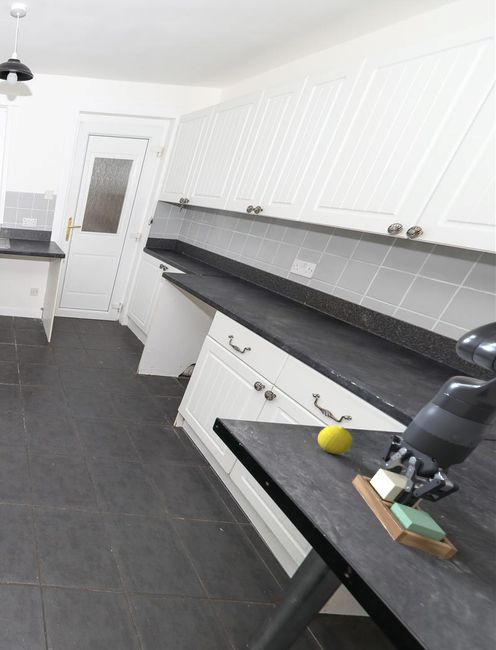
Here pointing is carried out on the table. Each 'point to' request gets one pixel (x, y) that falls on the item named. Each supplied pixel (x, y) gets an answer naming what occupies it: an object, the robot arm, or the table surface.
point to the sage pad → (417, 521)
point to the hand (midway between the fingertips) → (392, 493)
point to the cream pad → (390, 485)
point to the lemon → (335, 439)
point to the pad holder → (394, 527)
